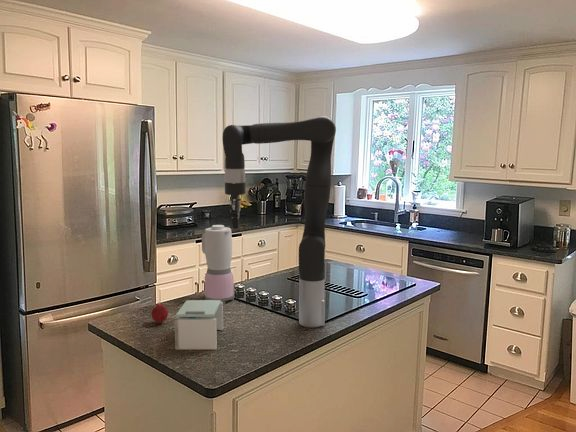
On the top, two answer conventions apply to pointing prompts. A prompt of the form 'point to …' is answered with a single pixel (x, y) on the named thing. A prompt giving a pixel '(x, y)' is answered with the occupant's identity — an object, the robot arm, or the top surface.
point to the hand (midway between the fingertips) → (235, 228)
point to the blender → (218, 263)
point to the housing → (198, 331)
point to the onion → (159, 313)
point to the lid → (199, 308)
